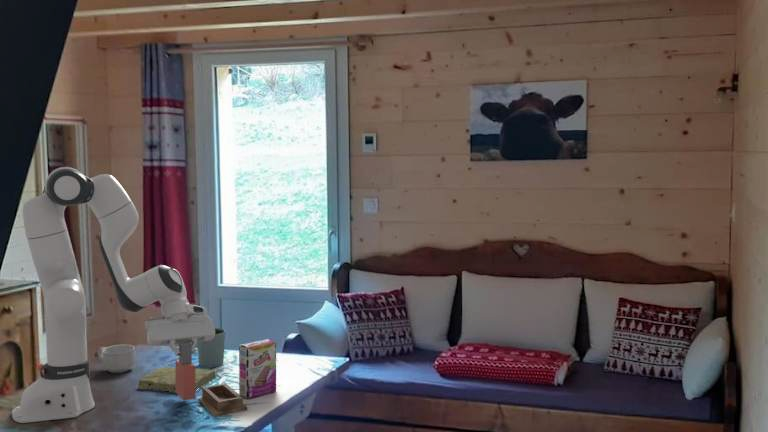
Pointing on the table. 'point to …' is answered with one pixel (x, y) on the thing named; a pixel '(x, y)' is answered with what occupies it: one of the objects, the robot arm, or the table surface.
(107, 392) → the table surface
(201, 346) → the grey cup
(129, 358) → the teacup
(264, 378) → the candy bar box
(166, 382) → the decorative tile
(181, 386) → the pink and grey block
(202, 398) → the brown wooden tray
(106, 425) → the table surface
